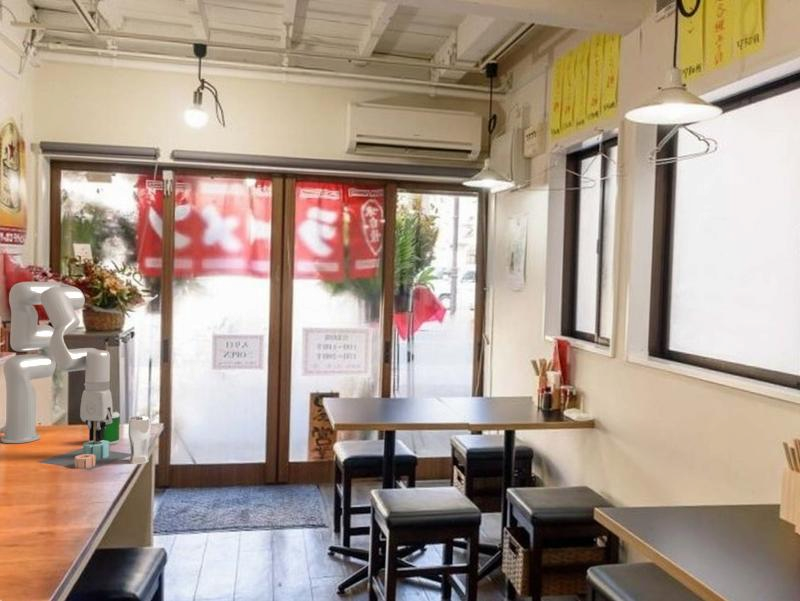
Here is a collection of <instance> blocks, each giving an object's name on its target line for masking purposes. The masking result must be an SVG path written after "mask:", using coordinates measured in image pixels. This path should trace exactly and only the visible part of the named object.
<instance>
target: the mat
mask: <svg viewBox="0 0 800 601" xmlns="http://www.w3.org/2000/svg"><path fill="white" fill-rule="evenodd" d="M82 454H83V447H82V448H79V449H75V450H70V451H68V452H65V453H62V454H58V455H55V456H52V457H51V456H50V457H47V458H46V459H41V460H38V461H37V463H40V464H41V463H42V464H48V465H53V466H62V467H67V468H68V467H69V468H75V469H77V468H76V467H75V457H76V456H78V455H82ZM130 456H131V453H126V452H119V451H112V450H109V456H108V457H106V458H101V459H96V462H95V466H93V467H89V468H79V469H81V470H87V471H91V470H95V469H97V468H98V469H99V468H100V467H103V466H106V465H109V464H111V463H115V462H117V461H120V460H123V459H127V458H130Z"/></svg>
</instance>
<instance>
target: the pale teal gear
mask: <svg viewBox="0 0 800 601" xmlns="http://www.w3.org/2000/svg"><path fill="white" fill-rule="evenodd" d="M110 446H111V445H110V442H109V441H106V440H102V441H100V444H93V440H92V441H90V440H89V441H86V442H84V443H83V447H82V448H83V454H85V455H86V454H94V455H96V459H101V458H106V457H108V456H109V451H110Z"/></svg>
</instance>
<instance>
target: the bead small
mask: <svg viewBox="0 0 800 601" xmlns="http://www.w3.org/2000/svg"><path fill="white" fill-rule="evenodd" d="M95 462H96V455H94V454H86V455H85V454H82V455H78V456H76V457H75V467H76V468H75V469H80V468H89V467H93V466H95Z"/></svg>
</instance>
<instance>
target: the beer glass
mask: <svg viewBox="0 0 800 601" xmlns="http://www.w3.org/2000/svg"><path fill="white" fill-rule="evenodd" d="M128 420H129V421H128V440H129V441H128V442H129V447H130V454H131V456H129V462H128V463H129V464H132V465H140V464H141V465H142V464H147V463H149V461H150V459H149V458H150V457H149V445H150V442H151V440H150V439H151V435H152V434H151V433H152V423H151V422H152V421H151V416H147V415H137V416H131V417H129V419H128Z"/></svg>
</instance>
